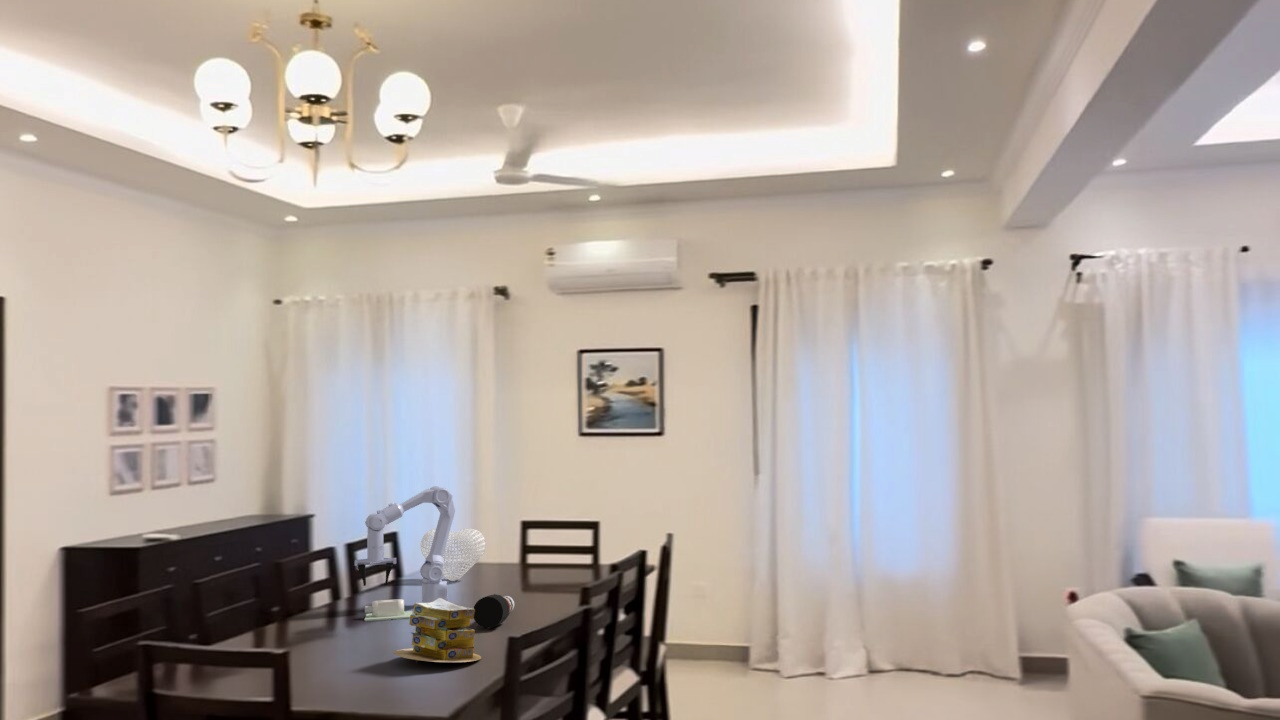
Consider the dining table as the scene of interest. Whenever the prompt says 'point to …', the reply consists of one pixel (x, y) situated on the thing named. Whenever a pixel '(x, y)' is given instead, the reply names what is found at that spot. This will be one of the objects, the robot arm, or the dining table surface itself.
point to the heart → (457, 551)
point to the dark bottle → (492, 610)
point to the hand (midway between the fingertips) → (375, 584)
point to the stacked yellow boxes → (441, 633)
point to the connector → (386, 608)
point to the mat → (388, 617)
